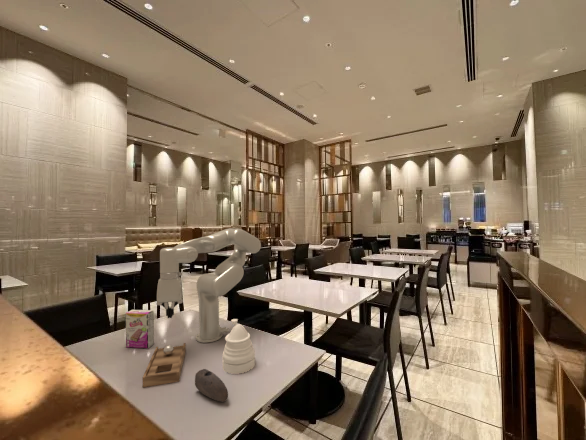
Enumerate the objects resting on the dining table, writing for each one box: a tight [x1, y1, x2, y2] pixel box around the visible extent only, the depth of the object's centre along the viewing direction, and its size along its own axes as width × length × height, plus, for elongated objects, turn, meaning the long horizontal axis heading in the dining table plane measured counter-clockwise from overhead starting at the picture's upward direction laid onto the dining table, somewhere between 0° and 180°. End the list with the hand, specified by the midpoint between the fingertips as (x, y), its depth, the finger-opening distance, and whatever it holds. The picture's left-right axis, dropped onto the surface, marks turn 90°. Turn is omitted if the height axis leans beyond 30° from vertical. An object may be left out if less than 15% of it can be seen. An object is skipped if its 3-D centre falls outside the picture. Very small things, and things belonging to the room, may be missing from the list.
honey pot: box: [221, 318, 256, 375], centre depth 112 cm, size 13×13×18 cm
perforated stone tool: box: [194, 368, 229, 403], centre depth 93 cm, size 15×5×7 cm, turn 51°
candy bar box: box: [124, 309, 155, 349], centre depth 129 cm, size 11×5×16 cm, turn 84°
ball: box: [163, 344, 175, 355], centre depth 116 cm, size 4×4×4 cm
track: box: [142, 342, 187, 388], centre depth 111 cm, size 24×12×4 cm, turn 16°
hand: (170, 317), depth 122 cm, fingers closed
